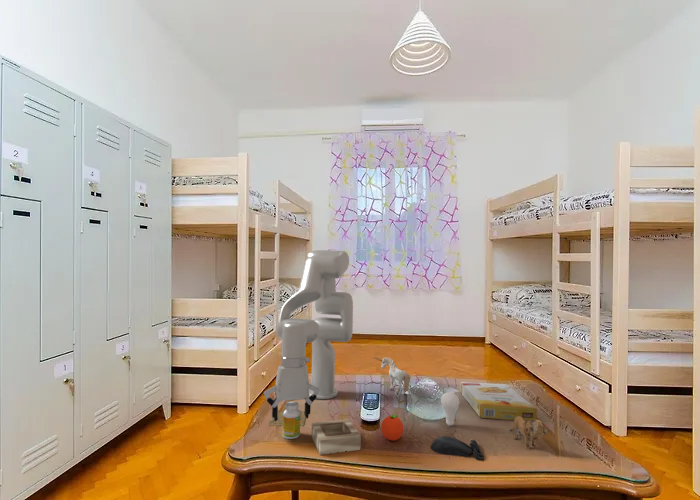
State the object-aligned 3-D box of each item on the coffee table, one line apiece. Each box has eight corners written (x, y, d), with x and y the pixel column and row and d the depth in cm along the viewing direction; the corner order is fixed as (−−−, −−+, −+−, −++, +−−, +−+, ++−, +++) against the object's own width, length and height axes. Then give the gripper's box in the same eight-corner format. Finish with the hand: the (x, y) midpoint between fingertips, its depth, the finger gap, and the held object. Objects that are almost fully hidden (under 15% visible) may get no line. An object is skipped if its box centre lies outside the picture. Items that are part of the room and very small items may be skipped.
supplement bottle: (296, 440, 111) (297, 407, 112) (279, 438, 112) (280, 406, 113) (302, 432, 116) (303, 401, 117) (286, 430, 117) (287, 399, 118)
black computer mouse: (429, 441, 114) (429, 428, 114) (478, 445, 112) (478, 432, 112) (431, 457, 104) (431, 443, 104) (485, 463, 102) (485, 448, 102)
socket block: (311, 436, 114) (311, 422, 114) (348, 431, 118) (348, 418, 118) (319, 455, 103) (320, 439, 103) (360, 449, 106) (360, 434, 107)
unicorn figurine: (382, 383, 168) (383, 354, 169) (418, 395, 154) (418, 362, 155) (372, 387, 163) (373, 356, 164) (408, 399, 149) (408, 365, 150)
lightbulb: (460, 424, 126) (460, 391, 126) (457, 431, 120) (458, 396, 121) (442, 420, 128) (442, 388, 129) (439, 427, 123) (439, 393, 123)
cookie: (267, 427, 121) (267, 424, 121) (274, 412, 133) (274, 410, 133) (304, 427, 121) (304, 424, 121) (307, 413, 133) (307, 410, 133)
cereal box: (480, 404, 131) (459, 380, 159) (480, 419, 130) (459, 393, 159) (538, 407, 130) (506, 382, 158) (537, 423, 130) (506, 395, 158)
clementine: (387, 431, 119) (387, 409, 119) (407, 436, 116) (407, 413, 116) (377, 441, 112) (377, 417, 112) (398, 447, 109) (399, 422, 109)
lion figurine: (550, 453, 107) (550, 422, 107) (534, 455, 106) (534, 423, 106) (516, 431, 121) (516, 403, 121) (502, 433, 120) (502, 405, 120)
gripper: (317, 358, 121) (315, 411, 120) (264, 360, 116) (261, 416, 115) (322, 363, 114) (320, 420, 113) (266, 366, 109) (263, 425, 108)
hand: (291, 418), depth 114 cm, fingers open, 9 cm apart
